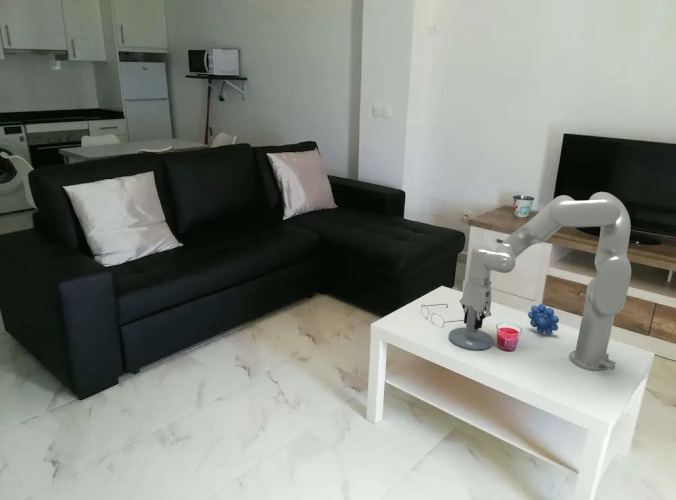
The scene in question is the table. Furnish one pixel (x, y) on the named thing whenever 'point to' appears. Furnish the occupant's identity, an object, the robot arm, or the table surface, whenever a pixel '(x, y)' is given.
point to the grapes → (543, 319)
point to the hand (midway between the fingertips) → (472, 325)
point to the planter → (471, 320)
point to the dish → (470, 339)
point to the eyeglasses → (437, 314)
